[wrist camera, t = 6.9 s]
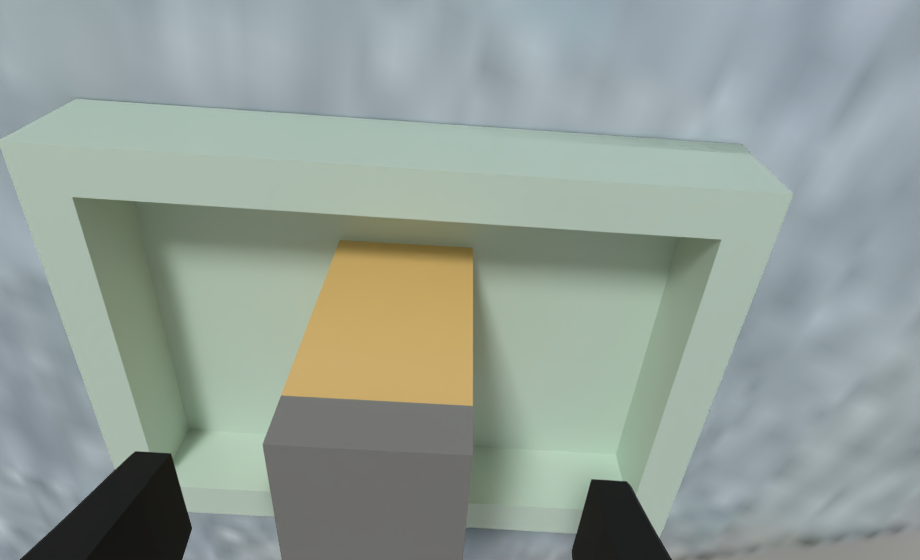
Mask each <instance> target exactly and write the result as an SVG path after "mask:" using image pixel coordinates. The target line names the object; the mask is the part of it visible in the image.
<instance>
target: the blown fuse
mask: <svg viewBox="0 0 920 560" xmlns="http://www.w3.org/2000/svg"><path fill="white" fill-rule="evenodd" d="M262 445H263V451H264V457H265V463H266V469H267V475H268V481H269V486H270V492H271V498H272V504H273V510H274V516H275V522H276V528H277V534H278V540H279V546H280V552H281V557H282V560H463V551H464V541H465V531H466V521H467V510H468V500H469V490H470V480H471V470H472V459H473V248H467V247H450V246H432V245H415V244H398V243H381V242H363V241H346V240H340V241H339V243H338V246H337V249H336V251H335V254H334V257H333V259H332V262H331V264H330V267H329V270H328V272H327V275H326V278H325V280H324V283H323V286H322V288H321V291H320V294H319V296H318V299H317V302H316V304H315V307H314V309H313V312H312V315H311V317H310V320H309V323H308V325H307V328H306V331H305V333H304V336H303V339H302V341H301V344H300V346H299V349H298V352H297V354H296V357H295V360H294V362H293V365H292V368H291V370H290V373H289V376H288V378H287V381H286V384H285V386H284V389H283V391H282V394H281V397H280V399H279V402H278V405H277V407H276V410H275V413H274V415H273V418H272V421H271V423H270V426H269V428H268V431H267V434H266V436H265V439H264V442H263V444H262Z"/></svg>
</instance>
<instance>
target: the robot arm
mask: <svg viewBox="0 0 920 560" xmlns="http://www.w3.org/2000/svg"><path fill="white" fill-rule="evenodd" d="M191 530H192V527H191V523H190V519H189V516H188V512H187V509H186V505H185V501H184V498H183V494H182V491H181V487H180V484H179V480H178V476H177V473H176V469H175V466H174V462H173V458H172V455H171V453H156V452H140V451H135V452H134V453H133V454H131V455H130V456H129V457H128V458H127V459H126V460H125V461H124V462H123V463H122V464H121V465H120V466H119V467H117V468H116V469H115V470H114V471H113V472H112V473H111V474H110V475H109V476H108V477H107V478H106V479H105V480H104V481H103V482H102V483H101V484H100V485H99V486H98V487H97V488H96V489H95V490H94V491H93V492H92V493H90V494H89V495H88V496H87V497H86V498H85V499H84V500H83V501H82V502H81V503H80V504H79V505H78V506H77V507H76V508H75V509H74V510H73V511H72V512H71V513H70V514H68V515H67V516H66V517H65V518H64V519H63V520H62V521H61V522H60V523H59V524H58V525H57V526H56V527H55V528H54V529H53V530H52V531H50V532H49V533H48V534H47V535H46V536H45V537H44V538H43V539H42V540H41V541H40V542H38V543H37V544H36V545H35V546H34V547H33V548H32V549H31V550H30V551H29V552H28V553H27V554H25V555H24V556H23V557H22V558H21V559H20V560H182V558H183V555H184V552H185V549H186V546H187V542H188V539H189V536H190V533H191ZM572 558H573V560H672V559H671V557H670V556H669V554H668V552H667V551H666V549H665V547H664V545H663V544H662V542H661V540H660V538H659V537H658V535H657V533H656V531H655V530H654V528H653V526H652V524H651V522H650V521H649V519H648V517H647V515H646V513H645V511H644V509H643V508H642V506H641V504H640V502H639V500H638V498H637V496H636V494H635V492H634V491H633V489H632V487H631V485H630V484H629V483H628V482H627V481H613V480H597V479H591V482H590V486H589V490H588V493H587V497H586V501H585V504H584V508H583V512H582V516H581V519H580V523H579V527H578V530H577V534H576V538H575V541H574V545H573V549H572Z"/></svg>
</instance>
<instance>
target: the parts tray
mask: <svg viewBox="0 0 920 560" xmlns="http://www.w3.org/2000/svg"><path fill="white" fill-rule="evenodd" d="M0 148H1V150H2V153H3V156H4V159H5V162H6V164H7V167H8V170H9V173H10V176H11V179H12V181H13V184H14V187H15V190H16V193H17V195H18V198H19V201H20V204H21V207H22V209H23V212H24V215H25V218H26V221H27V224H28V226H29V229H30V232H31V235H32V238H33V240H34V243H35V246H36V249H37V252H38V255H39V257H40V260H41V263H42V266H43V269H44V271H45V274H46V277H47V280H48V283H49V285H50V288H51V291H52V294H53V297H54V300H55V302H56V305H57V308H58V311H59V314H60V316H61V319H62V322H63V325H64V328H65V330H66V333H67V336H68V339H69V342H70V345H71V347H72V350H73V353H74V356H75V359H76V361H77V364H78V367H79V370H80V373H81V375H82V378H83V381H84V384H85V387H86V390H87V392H88V395H89V398H90V401H91V404H92V406H93V409H94V412H95V415H96V418H97V420H98V423H99V426H100V429H101V432H102V435H103V437H104V440H105V443H106V446H107V449H108V451H109V454H110V457H111V460H112V463H113V465H114V468H115V469H116V468H117V467H119V466H120V465H121V464H122V463H123V462H124V461H125V460H126V459H127V458H128V457H129V456H130V455H131V454H133V453H134V452H135V451H140V452H156V453H171V455H172V458H173V462H174V466H175V469H176V473H177V476H178V480H179V484H180V487H181V491H182V494H183V498H184V501H185V505H186V509H187V512H200V513H218V514H235V515H253V516H271V517H275V516H274V510H273V504H272V498H271V492H270V486H269V481H268V475H267V469H266V463H265V457H264V451H263V445H262V444H263V442H264V439H265V436H266V434H267V431H268V428H269V426H270V423H271V421H272V418H273V415H274V413H275V410H276V407H277V405H278V402H279V399H280V397H281V394H282V391H283V389H284V386H285V384H286V381H287V378H288V376H289V373H290V370H291V368H292V365H293V362H294V360H295V357H296V354H297V352H298V349H299V346H300V344H301V341H302V339H303V336H304V333H305V331H306V328H307V325H308V323H309V320H310V317H311V315H312V312H313V309H314V307H315V304H316V302H317V299H318V296H319V294H320V291H321V288H322V286H323V283H324V280H325V278H326V275H327V272H328V270H329V267H330V264H331V262H332V259H333V257H334V254H335V251H336V249H337V246H338V243H339V241H340V240H346V241H363V242H381V243H398V244H415V245H432V246H450V247H467V248H473V459H472V470H471V480H470V490H469V500H468V510H467V521H466V527H467V528H485V529H503V530H521V531H539V532H557V533H574V534H577V530H578V527H579V523H580V519H581V516H582V512H583V508H584V504H585V501H586V497H587V493H588V490H589V486H590V482H591V479H597V480H613V481H627V482H628V483H629V484H630V485H631V487H632V489H633V491H634V492H635V494H636V496H637V498H638V500H639V502H640V504H641V506H642V508H643V509H644V511H645V513H646V515H647V517H648V519H649V521H650V522H651V524H652V526H653V528H654V530H655V531H656V533H657V535H658V537H659V538H660V536H661V533H662V531H663V528H664V526H665V523H666V521H667V518H668V515H669V513H670V510H671V508H672V505H673V503H674V500H675V497H676V495H677V492H678V490H679V487H680V485H681V482H682V479H683V477H684V474H685V472H686V469H687V467H688V464H689V462H690V459H691V456H692V454H693V451H694V449H695V446H696V444H697V441H698V438H699V436H700V433H701V431H702V428H703V426H704V423H705V420H706V418H707V415H708V413H709V410H710V408H711V405H712V403H713V400H714V397H715V395H716V392H717V390H718V387H719V385H720V382H721V379H722V377H723V374H724V372H725V369H726V367H727V364H728V361H729V359H730V356H731V354H732V351H733V349H734V346H735V344H736V341H737V338H738V336H739V333H740V331H741V328H742V326H743V323H744V320H745V318H746V315H747V313H748V310H749V308H750V305H751V302H752V300H753V297H754V295H755V292H756V290H757V287H758V285H759V282H760V279H761V277H762V274H763V272H764V269H765V267H766V264H767V261H768V259H769V256H770V254H771V251H772V249H773V246H774V243H775V241H776V238H777V236H778V233H779V231H780V228H781V226H782V223H783V220H784V218H785V215H786V213H787V210H788V208H789V205H790V202H791V200H792V197H793V195H794V194H793V193H792V192H791V191H790V190H789V189H788V188H787V187H786V186H785V185H784V184H783V183H782V182H781V181H780V180H779V179H778V178H776V177H775V176H774V175H773V174H772V173H771V172H770V171H769V170H768V169H767V168H766V167H765V166H764V165H763V164H762V163H761V162H760V161H759V160H758V159H757V158H756V157H755V156H754V155H753V154H751V153H750V152H749V151H748V150H747V149H746V148H745V147H744V146H743V145H742V144H728V143H714V142H699V141H684V140H670V139H655V138H641V137H626V136H611V135H597V134H582V133H568V132H553V131H538V130H524V129H509V128H495V127H480V126H465V125H451V124H436V123H421V122H407V121H392V120H378V119H363V118H348V117H334V116H319V115H305V114H290V113H275V112H261V111H246V110H232V109H217V108H202V107H188V106H173V105H159V104H144V103H129V102H115V101H100V100H85V99H75V100H73V101H71V102H70V103H68V104H66V105H64V106H62V107H60V108H58V109H57V110H55V111H53V112H51V113H49V114H47V115H45V116H43V117H42V118H40V119H38V120H36V121H34V122H32V123H30V124H28V125H27V126H25V127H23V128H21V129H19V130H17V131H15V132H14V133H12V134H10V135H8V136H6V137H4V138H2V139H0Z"/></svg>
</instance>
